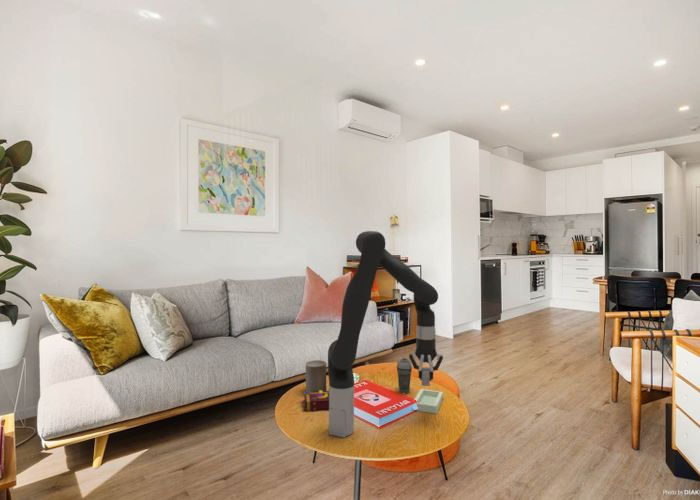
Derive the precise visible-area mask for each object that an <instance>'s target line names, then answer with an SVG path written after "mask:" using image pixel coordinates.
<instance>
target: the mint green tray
mask: <svg viewBox="0 0 700 500" xmlns="http://www.w3.org/2000/svg"><path fill="white" fill-rule="evenodd" d="M414 400H416V401H417V402H418V403H416V404H417V407H418V409H417V412H423V413H428V414H434V415H437V414H438V411H439V409H440V407H441V404H442V402H443V400H444V391H437V390H432V389H431V390H430V389H424V388H420V389H419V391H418V392H417V394H416V396H415V397H414V399H413V401H414Z"/></svg>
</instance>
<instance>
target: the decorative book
mask: <svg viewBox="0 0 700 500" xmlns="http://www.w3.org/2000/svg"><path fill="white" fill-rule="evenodd" d="M303 397H304V398H303V401H301V403H300V404H301V405H303V407H304V412H318V411H328V412H329V390H326V391H322V390H319V391H317V392H312V391H308V392H306V391H303Z"/></svg>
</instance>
